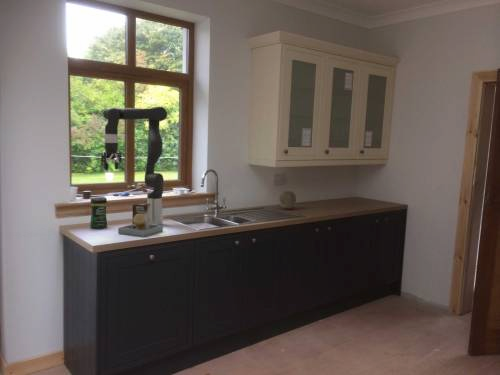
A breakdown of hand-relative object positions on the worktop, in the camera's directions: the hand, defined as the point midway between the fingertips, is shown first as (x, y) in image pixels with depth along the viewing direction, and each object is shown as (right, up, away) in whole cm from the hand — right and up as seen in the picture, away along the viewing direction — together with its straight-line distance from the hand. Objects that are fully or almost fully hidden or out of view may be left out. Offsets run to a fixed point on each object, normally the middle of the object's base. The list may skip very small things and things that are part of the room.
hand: (111, 169), depth 255 cm
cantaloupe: (+113, -29, +104) cm, 156 cm away
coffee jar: (-11, -35, +9) cm, 38 cm away
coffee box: (+18, -37, -2) cm, 41 cm away
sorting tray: (+18, -37, -2) cm, 41 cm away
